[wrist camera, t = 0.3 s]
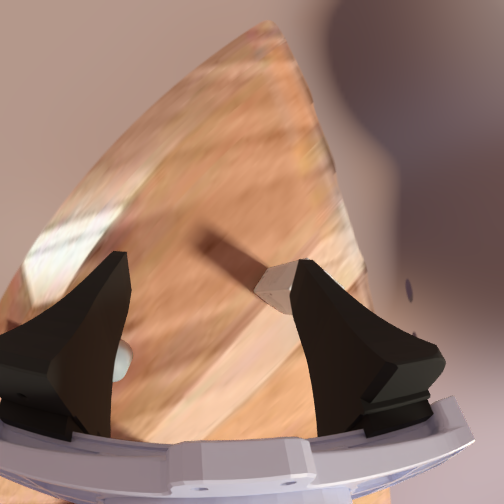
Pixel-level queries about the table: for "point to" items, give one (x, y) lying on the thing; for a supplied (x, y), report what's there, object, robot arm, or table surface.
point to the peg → (122, 360)
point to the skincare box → (279, 286)
